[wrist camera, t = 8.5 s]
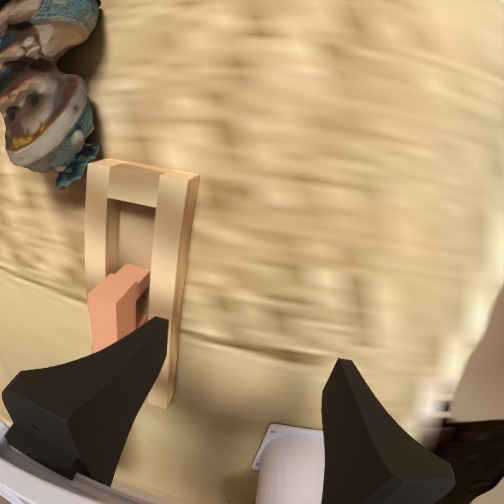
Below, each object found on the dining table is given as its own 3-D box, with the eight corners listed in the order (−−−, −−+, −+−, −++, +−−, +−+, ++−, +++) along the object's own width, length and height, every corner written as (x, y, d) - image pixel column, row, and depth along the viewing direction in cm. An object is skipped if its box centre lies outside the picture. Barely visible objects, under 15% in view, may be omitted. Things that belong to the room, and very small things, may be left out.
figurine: (87, -53, 10) (68, 189, 14) (115, 2, 18) (112, 182, 21) (-26, -7, 9) (-47, 212, 12) (23, 28, 17) (17, 197, 20)
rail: (174, 391, 28) (166, 410, 26) (108, 369, 28) (97, 385, 26) (199, 174, 20) (188, 180, 18) (107, 158, 21) (87, 163, 18)
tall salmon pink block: (147, 330, 25) (119, 374, 20) (125, 323, 25) (95, 364, 20) (150, 265, 23) (116, 303, 18) (126, 258, 23) (87, 293, 18)
